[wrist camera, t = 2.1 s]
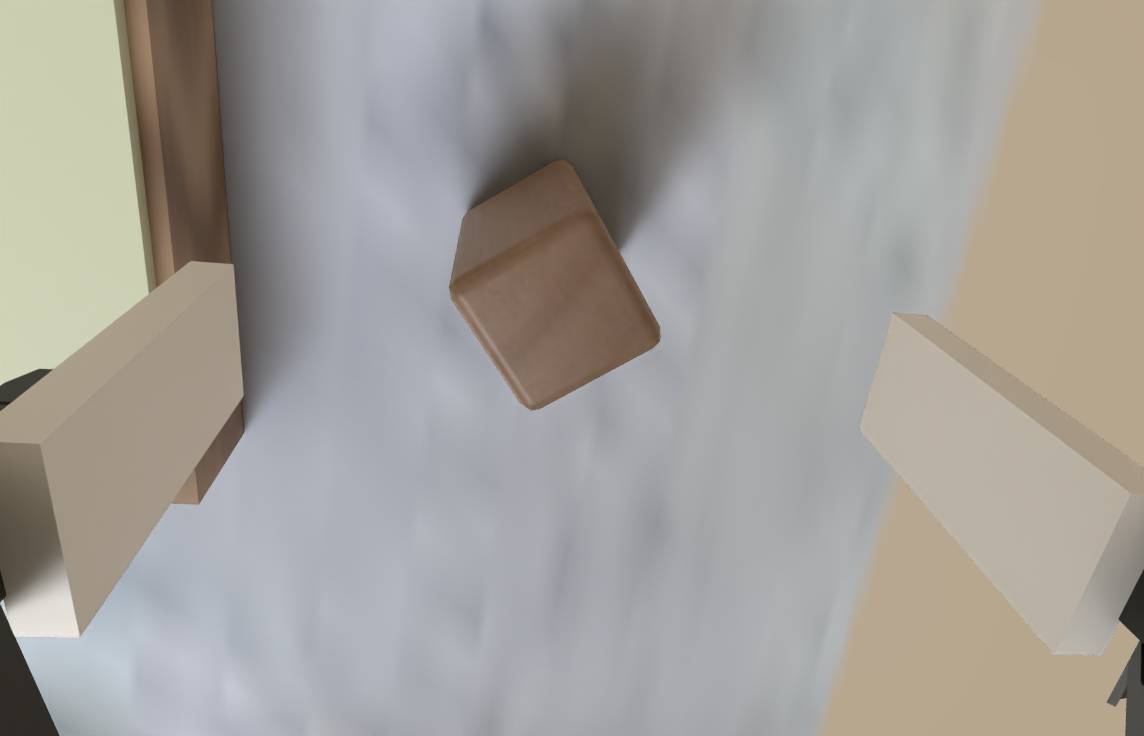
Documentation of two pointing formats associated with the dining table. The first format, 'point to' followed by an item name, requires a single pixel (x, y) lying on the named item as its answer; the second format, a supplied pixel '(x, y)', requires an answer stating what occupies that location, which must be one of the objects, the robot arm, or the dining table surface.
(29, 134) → the walnut stand
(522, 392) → the wooden block
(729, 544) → the dining table surface
